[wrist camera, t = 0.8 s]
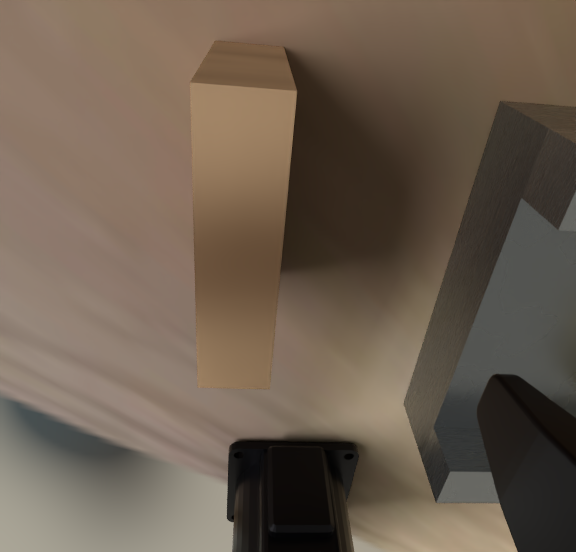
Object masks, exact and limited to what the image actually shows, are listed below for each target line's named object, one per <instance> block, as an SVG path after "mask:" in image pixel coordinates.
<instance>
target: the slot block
mask: <svg viewBox="0 0 576 552" xmlns="http://www.w3.org/2000/svg"><path fill="white" fill-rule="evenodd" d="M493 374H514V375H518V376H519V377H521V378H522V379H524V380H525V381H527V382H528V383H529V384H531V385H532V386H533V387H535V388H536V389H537V390H539V391H540V392H541V393H543V394H544V395H546V396H547V397H548V398H550V399H551V400H552V401H554V402H555V403H556V404H558V405H559V406H561V407H562V408H563V409H565V410H566V411H567V412H569V413H570V414H571V415H573V416H574V417H576V107H566V106H554V105H542V104H529V103H517V102H505V101H500V104H499V107H498V110H497V113H496V116H495V119H494V122H493V126H492V129H491V132H490V135H489V138H488V141H487V144H486V148H485V151H484V154H483V157H482V160H481V163H480V166H479V169H478V173H477V176H476V179H475V182H474V185H473V188H472V191H471V195H470V198H469V201H468V204H467V207H466V210H465V213H464V216H463V220H462V223H461V226H460V229H459V232H458V235H457V238H456V241H455V245H454V248H453V251H452V254H451V257H450V260H449V263H448V267H447V270H446V273H445V276H444V279H443V282H442V285H441V288H440V292H439V295H438V298H437V301H436V304H435V307H434V310H433V314H432V317H431V320H430V323H429V326H428V329H427V332H426V335H425V339H424V342H423V345H422V348H421V351H420V354H419V357H418V361H417V364H416V367H415V370H414V373H413V376H412V379H411V382H410V386H409V389H408V392H407V395H406V398H405V401H404V406H405V409H406V412H407V415H408V418H409V422H410V425H411V428H412V431H413V434H414V437H415V440H416V443H417V446H418V449H419V452H420V455H421V458H422V461H423V464H424V467H425V470H426V473H427V477H428V480H429V483H430V486H431V489H432V492H433V495H434V498H435V501H436V503H500V502H499V499H498V495H497V492H496V488H495V485H494V481H493V477H492V473H491V469H490V466H489V462H488V458H487V454H486V451H485V447H484V443H483V439H482V435H481V432H480V428H479V424H478V420H477V406H478V403H479V401H480V398H481V396H482V394H483V391H484V389H485V387H486V385H487V382H488V380H489V378H490V377H491V376H492V375H493Z"/></svg>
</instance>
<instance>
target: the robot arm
mask: <svg viewBox="0 0 576 552" xmlns="http://www.w3.org/2000/svg"><path fill="white" fill-rule="evenodd" d="M477 420H478V424H479V428H480V432H481V435H482V439H483V443H484V447H485V451H486V454H487V458H488V462H489V466H490V469H491V473H492V477H493V481H494V485H495V488H496V492H497V495H498V499H499V502H500V505H501V508H502V510H503V513H504V516H505V519H506V521H507V524H508V527H509V529H510V532H511V535H512V537H513V540H514V543H515V545H516V548H517V551H518V552H576V417H574V416H573V415H571V414H570V413H569V412H567V411H566V410H565V409H563V408H562V407H561V406H559V405H558V404H556V403H555V402H554V401H552V400H551V399H550V398H548V397H547V396H546V395H544V394H543V393H541V392H540V391H539V390H537V389H536V388H535V387H533V386H532V385H531V384H529V383H528V382H527V381H525V380H524V379H522V378H521V377H519V376H518V375H514V374H493V375H492V376H491V377H490V378H489V380H488V382H487V385H486V387H485V389H484V391H483V394H482V396H481V398H480V401H479V403H478V406H477ZM358 457H359V454H358V449H357V447H356V445H354V444H349V443H282V442H235V443H233V444H231V445H230V447H229V461H228V497H227V519H228V520H229V521H231V522H234V528H233V549H232V552H354V547H353V541H352V535H351V529H350V522H349V516H348V510H347V504H346V502H347V498H348V495H349V491H350V487H351V484H352V480H353V476H354V472H355V469H356V465H357V461H358Z"/></svg>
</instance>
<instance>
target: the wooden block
mask: <svg viewBox="0 0 576 552" xmlns="http://www.w3.org/2000/svg"><path fill="white" fill-rule="evenodd" d="M296 98H297V89H296V86H295V82H294V79H293V76H292V73H291V69H290V66H289V63H288V59H287V56H286V53H285V50H284V47H279V46H268V45H257V44H245V43H234V42H223V41H215V42H214V44H213V45H212V47H211V49H210V50H209V52H208V54H207V55H206V57H205V59H204V60H203V62H202V64H201V65H200V67H199V68H198V70H197V72H196V73H195V75H194V77H193V78H192V80H191V82H190V101H191V141H192V181H193V221H194V261H195V301H196V341H197V381H198V388H238V389H270V380H271V369H272V358H273V347H274V336H275V326H276V315H277V304H278V293H279V282H280V271H281V260H282V250H283V239H284V228H285V217H286V206H287V195H288V185H289V174H290V163H291V152H292V141H293V130H294V119H295V109H296Z"/></svg>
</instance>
